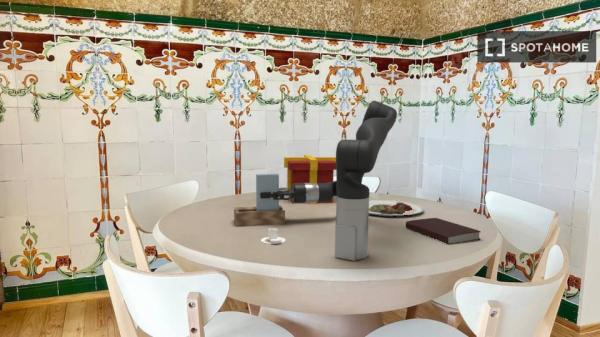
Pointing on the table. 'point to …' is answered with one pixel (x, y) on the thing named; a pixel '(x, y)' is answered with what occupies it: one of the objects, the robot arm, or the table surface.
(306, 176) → the gift box
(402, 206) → the plated food
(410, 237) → the table surface
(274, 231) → the teacup and saucer
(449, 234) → the book
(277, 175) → the cover panel
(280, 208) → the slot box
